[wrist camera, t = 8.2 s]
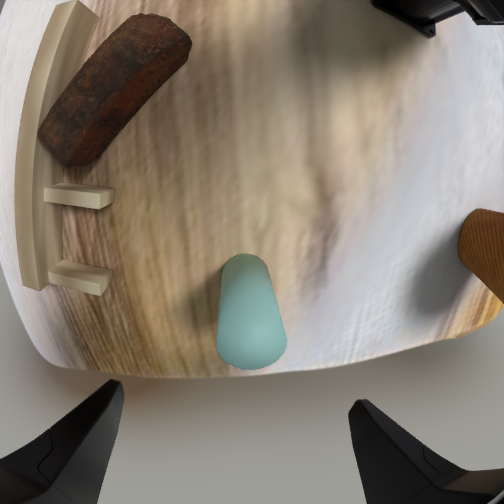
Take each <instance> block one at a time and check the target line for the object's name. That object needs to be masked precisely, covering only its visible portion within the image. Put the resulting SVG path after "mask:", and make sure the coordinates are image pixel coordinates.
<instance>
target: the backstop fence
mask: <svg viewBox="0 0 504 504" xmlns="http://www.w3.org/2000/svg"><path fill="white" fill-rule="evenodd" d="M98 20H99V17H98V16H97V15H96V14H95V13H93V12H92V11H91V10H90V9H89V8H87V7H86V6H85V5H84V4H83V3H81V2H80V1H79V0H72V1H69V2H65V3H62V4H58V5H56V7H55V9H54V11H53V14H52V16H51V18H50V20H49V23H48V25H47V28H46V30H45V33H44V35H43V38H42V41H41V43H40V46H39V49H38V52H37V55H36V58H35V61H34V64H33V68H32V71H31V75H30V79H29V82H28V86H27V91H26V95H25V100H24V104H23V110H22V115H21V121H20V127H19V135H18V143H17V153H16V166H15V226H16V239H17V249H18V258H19V265H20V272H21V278H22V284H23V286H26V287H29V288H31V289H34V290H37V291H41V290H42V289H43V288H44V287H45V286H46V285H47V284H48V283H53V284H56V285H60V286H63V287H67V288H70V289H74V290H78V291H82V292H85V293H89V294H93V295H97V296H101V295H102V294H103V292H104V291H105V290H106V289H107V287H108V286H109V285H110V284H111V282H112V270H109V269H104V268H100V267H95V266H90V265H86V264H82V263H77V262H73V261H68V260H64V259H63V247H62V204H66V205H73V206H80V207H88V208H94V209H101V208H103V207H105V206H107V205H109V204H111V203H113V202H114V199H115V188H108V187H100V186H91V185H81V184H72V183H63V171H64V165H63V164H62V163H61V162H60V161H59V160H58V159H57V158H56V157H55V156H54V155H53V154H52V153H51V152H50V151H49V150H48V149H47V147H46V146H45V145H44V144H43V143H42V142H41V141H40V140H39V139H38V138H37V132H38V129H39V127H40V125H41V124H42V122H43V120H44V119H45V117H46V116H47V114H48V112H49V110H50V109H51V107H52V106H53V104H54V103H55V101H56V100H57V99H58V98H59V95H60V94H61V93H62V92H63V91H64V89H65V88H66V87H67V85H68V84H69V82H70V81H71V80H72V79H73V77H74V76H75V75H76V74H77V72H78V71H79V70H80V69H81V68H82V66H83V63H84V59H85V56H86V53H87V50H88V47H89V44H90V41H91V38H92V35H93V33H94V30H95V28H96V25H97V22H98Z"/></svg>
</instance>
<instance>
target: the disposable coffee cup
mask: <svg viewBox="0 0 504 504" xmlns="http://www.w3.org/2000/svg"><path fill="white" fill-rule="evenodd" d="M458 253H459V257H460V260H461V262H462V263H463V264H464V265H465V266H466V267H467V268H468V269H469V270H470V271H472V272H473V273H474V274H475V275H476V276H477V277H478V278H479V279H480V280H481V281H482V282H483V283H484V284H485V285H486V286H487V287H488V288H489V289H490V290H491V291H492V292H493V293H494V294H495V295H496V296H497V297H498V298H499V299H500V300H501V301H502V302H503V304H504V213H500V212H496V211H491V210H486V209H476V210H475V211H473V212H472V213H471V214H470V215H469V216H468V218H467V219H466V221H465V223H464V225H463V227H462V230H461V233H460V236H459V242H458Z"/></svg>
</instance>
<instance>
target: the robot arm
mask: <svg viewBox="0 0 504 504" xmlns="http://www.w3.org/2000/svg"><path fill="white" fill-rule="evenodd" d="M377 2H378V3H379V4H378V3H377ZM371 3H372V4H373V5H374V6H375V7H376V8H379V9H381V10H383V11H385V12H387V13H389V14H391V15H393V16H395V17H397V18H398V19H400V20H402V21H404V22H406V23H407V24H409V25H411V26H413V27H414V28H416V29H418V30H419V31H421V32H423V33H424V34H426V35H427V36H429V37H434V36H435V35H436V29H435V24H436V23H438V22H440V21H443V20H445V19H447V18H450V17H452V16H454V15H457V14H459V13H462V12H464V11H466V12H467V13H468V14H469V15H470V17H471V18H472V20H473V21H474V22H475V23H476V25H504V0H371ZM430 32H431V33H430ZM123 403H124V391H123V386H122V383H121V381H118V380H114V379H110V380H109V381H108V382H106V383H105V384H104V385H102V386H101V387H100V388H99V389H98V390H96V391H95V392H94V393H93V394H91V395H90V396H89V397H88V398H87V399H85V400H84V401H83V402H81V403H80V404H79V405H78V406H77V407H75V408H74V409H73V410H72V411H70V412H69V413H68V414H66V415H65V416H64V417H63V418H62V419H60V420H59V421H58V422H56V423H55V424H54V425H53V426H52V427H51V428H50V429H48V430H46V431H45V432H44V433H43V434H41V435H40V436H38V437H37V438H36V439H35V440H33V441H31V442H30V443H28V444H27V445H25V446H23V447H21V448H20V449H18V450H16V451H14V452H13V453H11V454H9V455H7V456H5V457H3V458H1V459H0V504H97V502H98V498H99V494H100V490H101V487H102V483H103V480H104V476H105V473H106V469H107V466H108V462H109V459H110V456H111V452H112V449H113V446H114V443H115V440H116V436H117V433H118V427H119V422H120V417H121V412H122V407H123ZM348 418H349V424H350V431H351V438H352V444H353V449H354V453H355V457H356V461H357V465H358V469H359V473H360V477H361V481H362V485H363V489H364V494H365V497H366V502H367V504H504V468H502V469H493V470H480V471H468V470H465V469H462V468H460V467H458V466H456V465H455V464H453V463H451V462H450V461H448V460H446V459H444V458H443V457H441V456H440V455H438V454H436V453H435V452H434V451H432V450H431V449H429V448H428V447H427V446H425V445H424V444H423V443H421V442H420V441H419V440H418V439H416V438H415V437H414V436H412V435H411V434H410V433H409V432H407V431H406V430H405V429H403V428H402V427H401V426H400V425H398V424H397V423H396V422H395V421H393V420H392V419H391V418H390V417H388V416H387V415H386V414H384V413H383V412H382V411H381V410H380V409H378V408H377V407H376V406H375V405H373V404H372V403H371V402H370V401H369V400H367V399H358V400H356V401H355V403H354V405H353V406H352V408H351V409H350V411H349V414H348Z"/></svg>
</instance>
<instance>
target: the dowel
mask: <svg viewBox="0 0 504 504" xmlns="http://www.w3.org/2000/svg"><path fill="white" fill-rule="evenodd" d="M216 346H217V351H218V353H219V355H220V356H221V358H222V359H223V360H224V361H225V362H227V363H228V364H230V365H232V366H234V367H237V368H240V369H248V370H252V369H260V368H264V367H267V366H269V365H271V364H273V363H274V362H276V361H277V360H278V359H279V358H280V357H281V356H282V355H283V353H284V351H285V349H286V346H287V337H286V334H285V330H284V326H283V322H282V319H281V315H280V311H279V308H278V304H277V300H276V297H275V293H274V289H273V286H272V282H271V278H270V275H269V271H268V268H267V266H266V264H265V263H264V261H263V260H262V259H260V258H259V257H257V256H255V255H251V254H240V255H237V256H234V257H233V258H231V259H230V260H229V261H228V262H227V263H226V264H225V266H224V268H223V271H222V280H221V291H220V303H219V315H218V328H217V342H216Z"/></svg>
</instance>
